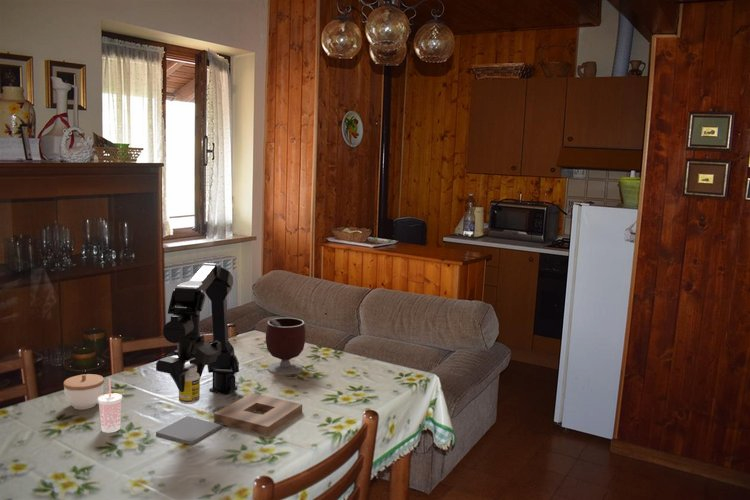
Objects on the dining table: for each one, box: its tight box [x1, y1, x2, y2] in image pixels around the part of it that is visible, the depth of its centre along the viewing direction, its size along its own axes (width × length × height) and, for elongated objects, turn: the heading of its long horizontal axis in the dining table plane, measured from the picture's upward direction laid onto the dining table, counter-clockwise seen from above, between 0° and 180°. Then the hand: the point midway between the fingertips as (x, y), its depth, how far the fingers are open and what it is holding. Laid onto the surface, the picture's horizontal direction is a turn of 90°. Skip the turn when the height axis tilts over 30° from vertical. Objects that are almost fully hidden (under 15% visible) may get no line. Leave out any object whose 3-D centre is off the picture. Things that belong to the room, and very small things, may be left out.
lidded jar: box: [63, 373, 105, 410], centre depth 183 cm, size 11×11×9 cm
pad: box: [155, 415, 222, 446], centre depth 170 cm, size 12×12×1 cm
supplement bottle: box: [178, 363, 201, 405], centre depth 168 cm, size 5×5×10 cm
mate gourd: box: [265, 317, 306, 376], centre depth 220 cm, size 16×14×20 cm
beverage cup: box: [97, 378, 123, 434], centre depth 168 cm, size 6×6×14 cm
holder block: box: [213, 392, 303, 436], centre depth 180 cm, size 18×18×2 cm
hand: (189, 388), depth 168 cm, fingers closed on supplement bottle, 5 cm apart
